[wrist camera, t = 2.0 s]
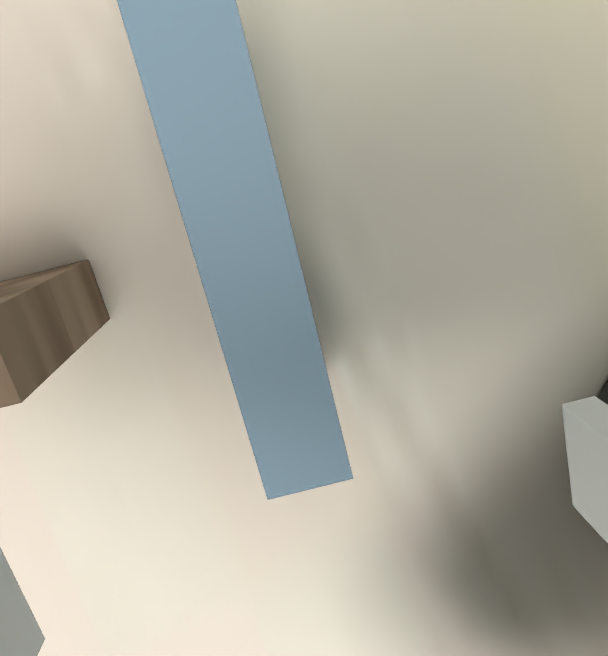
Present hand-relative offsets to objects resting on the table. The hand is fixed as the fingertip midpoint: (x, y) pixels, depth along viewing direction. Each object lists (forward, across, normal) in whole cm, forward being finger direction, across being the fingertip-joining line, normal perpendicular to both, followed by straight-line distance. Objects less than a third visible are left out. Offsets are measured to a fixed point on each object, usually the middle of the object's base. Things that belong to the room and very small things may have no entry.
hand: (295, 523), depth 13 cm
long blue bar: (+16, 0, -5) cm, 16 cm away
